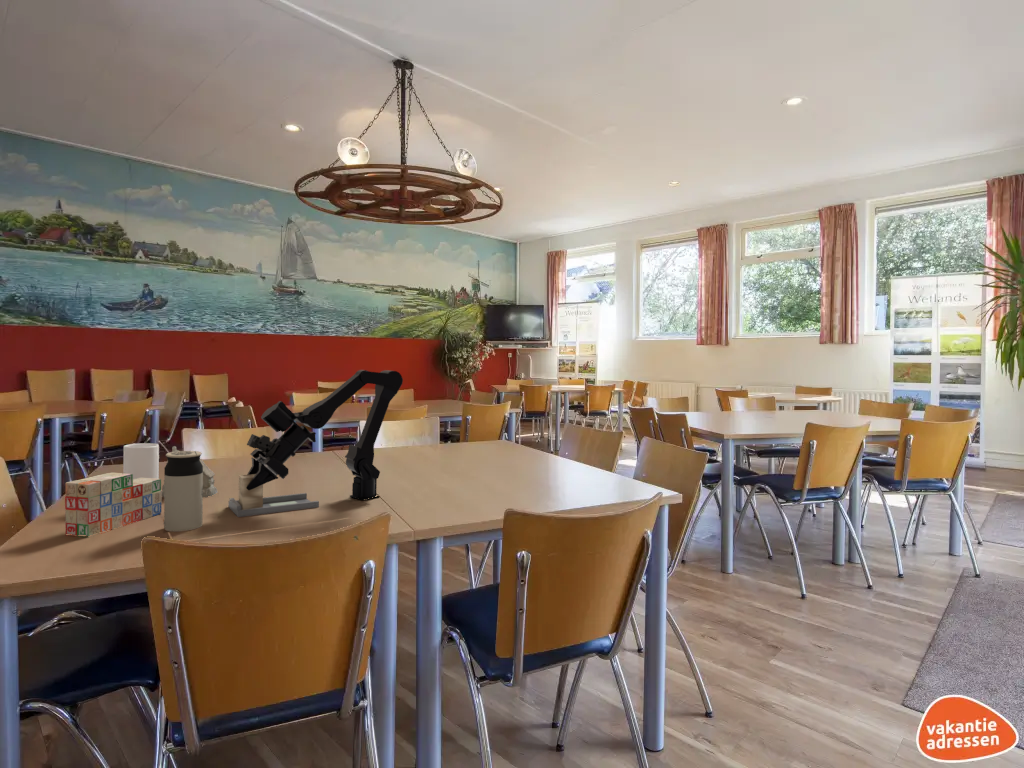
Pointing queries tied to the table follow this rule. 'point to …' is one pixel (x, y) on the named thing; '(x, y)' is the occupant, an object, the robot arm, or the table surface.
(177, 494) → the travel mug
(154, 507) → the stack of blocks
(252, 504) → the maple block
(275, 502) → the tray
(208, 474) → the ceramic cottage
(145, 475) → the cup
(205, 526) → the table surface
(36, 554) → the table surface
